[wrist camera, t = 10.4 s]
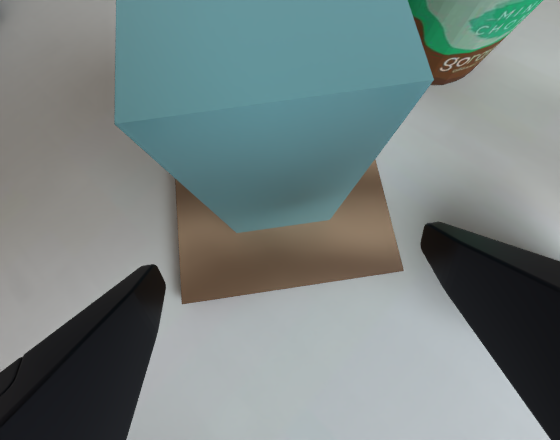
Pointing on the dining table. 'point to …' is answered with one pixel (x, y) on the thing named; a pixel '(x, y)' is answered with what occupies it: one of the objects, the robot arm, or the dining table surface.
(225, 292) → the stub base
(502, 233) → the dining table surface
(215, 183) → the teal square pillar
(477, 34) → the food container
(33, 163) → the dining table surface
